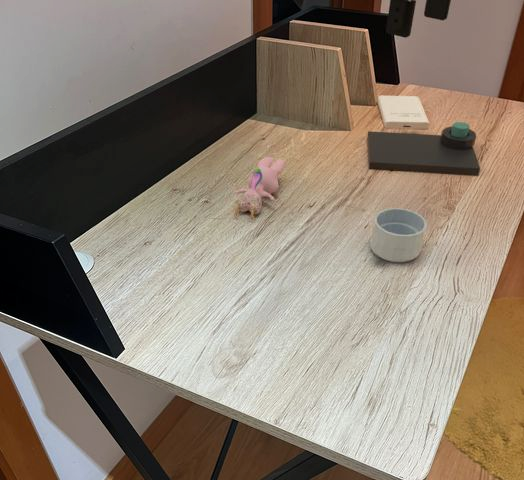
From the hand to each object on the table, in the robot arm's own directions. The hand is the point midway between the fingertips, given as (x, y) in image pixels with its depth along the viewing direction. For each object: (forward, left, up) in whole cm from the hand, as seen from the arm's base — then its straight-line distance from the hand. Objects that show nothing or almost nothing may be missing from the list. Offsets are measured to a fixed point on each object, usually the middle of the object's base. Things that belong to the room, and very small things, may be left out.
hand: (417, 26), depth 74 cm
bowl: (0, +16, -24) cm, 29 cm away
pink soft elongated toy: (+20, +4, -24) cm, 31 cm away
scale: (-6, -13, -24) cm, 28 cm away
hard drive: (-4, -30, -24) cm, 38 cm away
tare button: (-13, -16, -21) cm, 29 cm away
